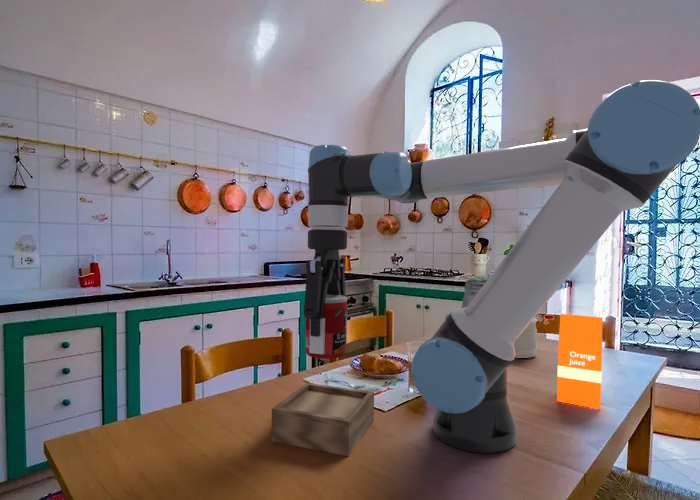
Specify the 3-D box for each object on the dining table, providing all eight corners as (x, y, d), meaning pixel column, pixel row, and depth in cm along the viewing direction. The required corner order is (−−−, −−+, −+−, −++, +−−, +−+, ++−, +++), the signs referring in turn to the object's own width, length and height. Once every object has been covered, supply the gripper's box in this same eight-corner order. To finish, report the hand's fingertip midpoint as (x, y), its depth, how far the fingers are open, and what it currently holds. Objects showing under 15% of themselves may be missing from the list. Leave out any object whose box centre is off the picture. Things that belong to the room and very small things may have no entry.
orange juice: (559, 392, 106) (561, 311, 105) (600, 399, 101) (603, 315, 101) (556, 402, 99) (558, 316, 98) (600, 410, 94) (603, 320, 94)
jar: (490, 348, 147) (492, 297, 147) (530, 349, 146) (531, 298, 145) (498, 358, 135) (499, 302, 134) (541, 360, 133) (543, 304, 132)
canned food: (341, 360, 78) (342, 300, 77) (299, 357, 79) (300, 298, 79) (350, 350, 85) (350, 295, 85) (311, 347, 87) (312, 293, 86)
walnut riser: (373, 421, 87) (374, 392, 87) (348, 456, 73) (349, 421, 73) (306, 410, 92) (307, 382, 92) (271, 441, 78) (271, 408, 78)
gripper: (329, 229, 92) (328, 334, 93) (284, 227, 73) (282, 359, 74) (362, 230, 90) (361, 338, 91) (324, 227, 71) (322, 364, 71)
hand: (325, 347), depth 82 cm, fingers closed on canned food, 8 cm apart
